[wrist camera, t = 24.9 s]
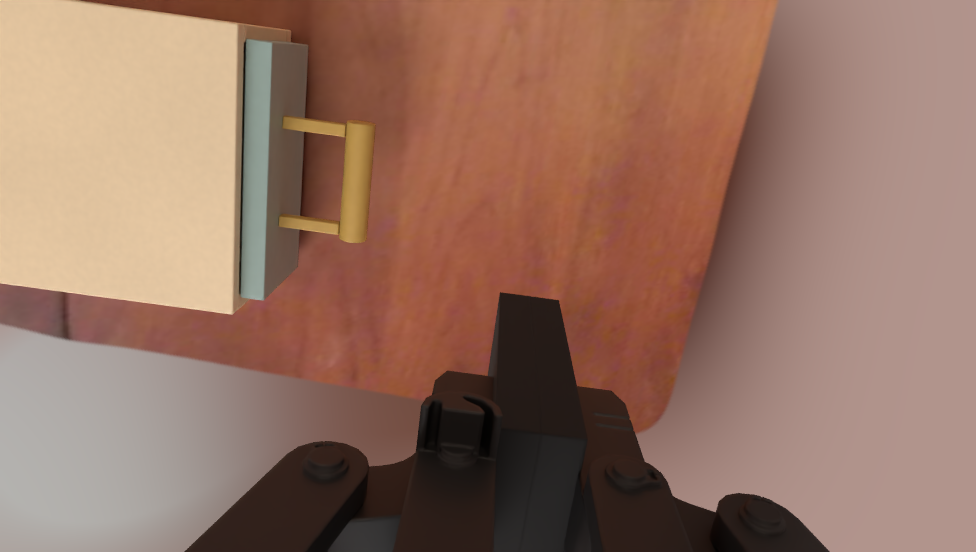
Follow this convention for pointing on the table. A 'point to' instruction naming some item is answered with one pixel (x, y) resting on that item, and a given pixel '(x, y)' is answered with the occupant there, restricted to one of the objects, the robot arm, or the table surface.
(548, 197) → the table surface
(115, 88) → the cabinet
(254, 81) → the drawer
